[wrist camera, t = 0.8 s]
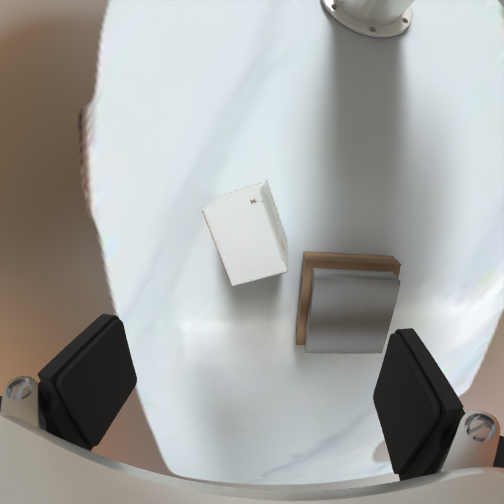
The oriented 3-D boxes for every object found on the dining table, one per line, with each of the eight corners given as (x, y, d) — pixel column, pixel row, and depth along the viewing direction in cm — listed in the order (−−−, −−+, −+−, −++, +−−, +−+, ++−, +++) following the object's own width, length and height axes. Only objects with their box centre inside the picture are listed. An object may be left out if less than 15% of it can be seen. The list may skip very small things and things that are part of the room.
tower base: (303, 251, 36) (306, 268, 30) (393, 256, 35) (409, 273, 29) (296, 332, 40) (296, 358, 34) (376, 334, 38) (386, 358, 33)
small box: (224, 193, 35) (199, 207, 25) (268, 179, 34) (259, 186, 24) (246, 253, 37) (230, 288, 27) (288, 241, 36) (288, 273, 26)
